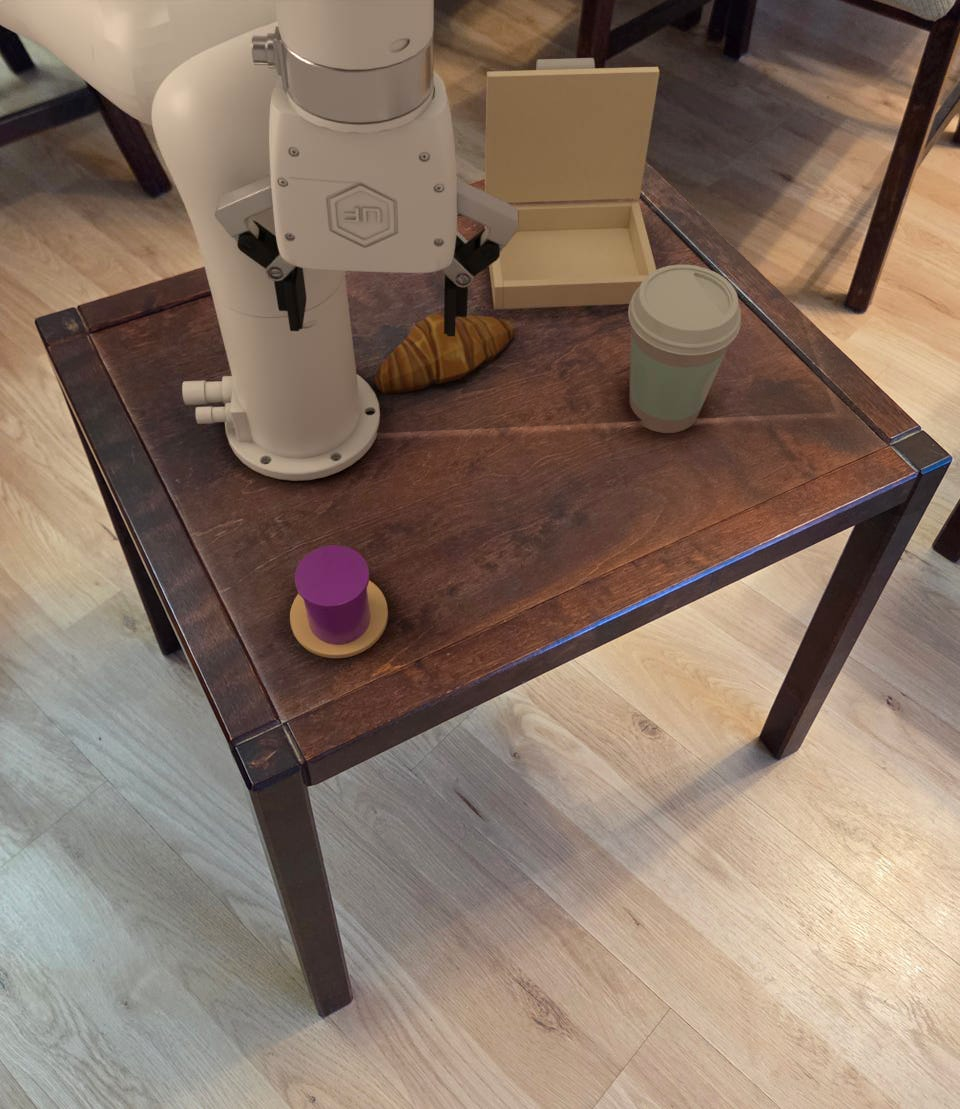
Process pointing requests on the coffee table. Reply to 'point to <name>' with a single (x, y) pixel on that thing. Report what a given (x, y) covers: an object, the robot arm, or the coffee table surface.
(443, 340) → the croissant
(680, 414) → the coffee cup
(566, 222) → the shallow wooden crate
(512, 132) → the box lid
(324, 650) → the coaster
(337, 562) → the coffee pod
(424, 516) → the coffee table surface
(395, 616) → the coffee table surface
